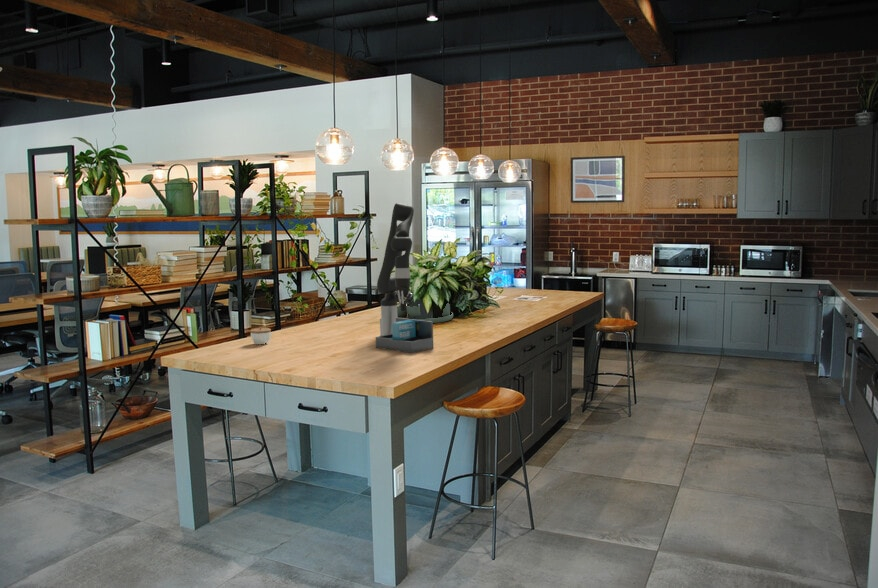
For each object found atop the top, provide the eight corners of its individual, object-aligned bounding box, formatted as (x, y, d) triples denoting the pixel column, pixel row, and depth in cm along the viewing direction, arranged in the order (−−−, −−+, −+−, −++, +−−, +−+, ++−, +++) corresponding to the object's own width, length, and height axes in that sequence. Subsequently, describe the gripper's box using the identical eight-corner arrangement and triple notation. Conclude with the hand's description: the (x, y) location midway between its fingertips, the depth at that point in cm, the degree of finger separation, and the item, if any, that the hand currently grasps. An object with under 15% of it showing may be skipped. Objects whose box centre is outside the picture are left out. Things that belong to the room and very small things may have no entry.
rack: (376, 347, 358) (375, 321, 356) (397, 342, 370) (397, 317, 368) (412, 353, 342) (411, 326, 340) (433, 348, 354) (432, 321, 352)
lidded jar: (266, 345, 370) (265, 328, 369) (247, 345, 372) (246, 328, 371) (274, 342, 381) (274, 325, 380) (256, 341, 383) (255, 325, 382)
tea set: (440, 313, 476) (440, 289, 474) (461, 321, 438) (461, 295, 436) (384, 317, 463) (383, 292, 461) (400, 326, 425) (399, 299, 423)
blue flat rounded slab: (398, 347, 350) (397, 323, 349) (392, 346, 353) (391, 322, 352) (416, 343, 358) (415, 320, 357) (410, 342, 362) (409, 319, 360)
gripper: (387, 277, 353) (389, 310, 355) (407, 278, 344) (408, 312, 346) (398, 275, 359) (399, 309, 361) (417, 276, 350) (418, 311, 352)
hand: (403, 310), depth 354 cm, fingers closed
